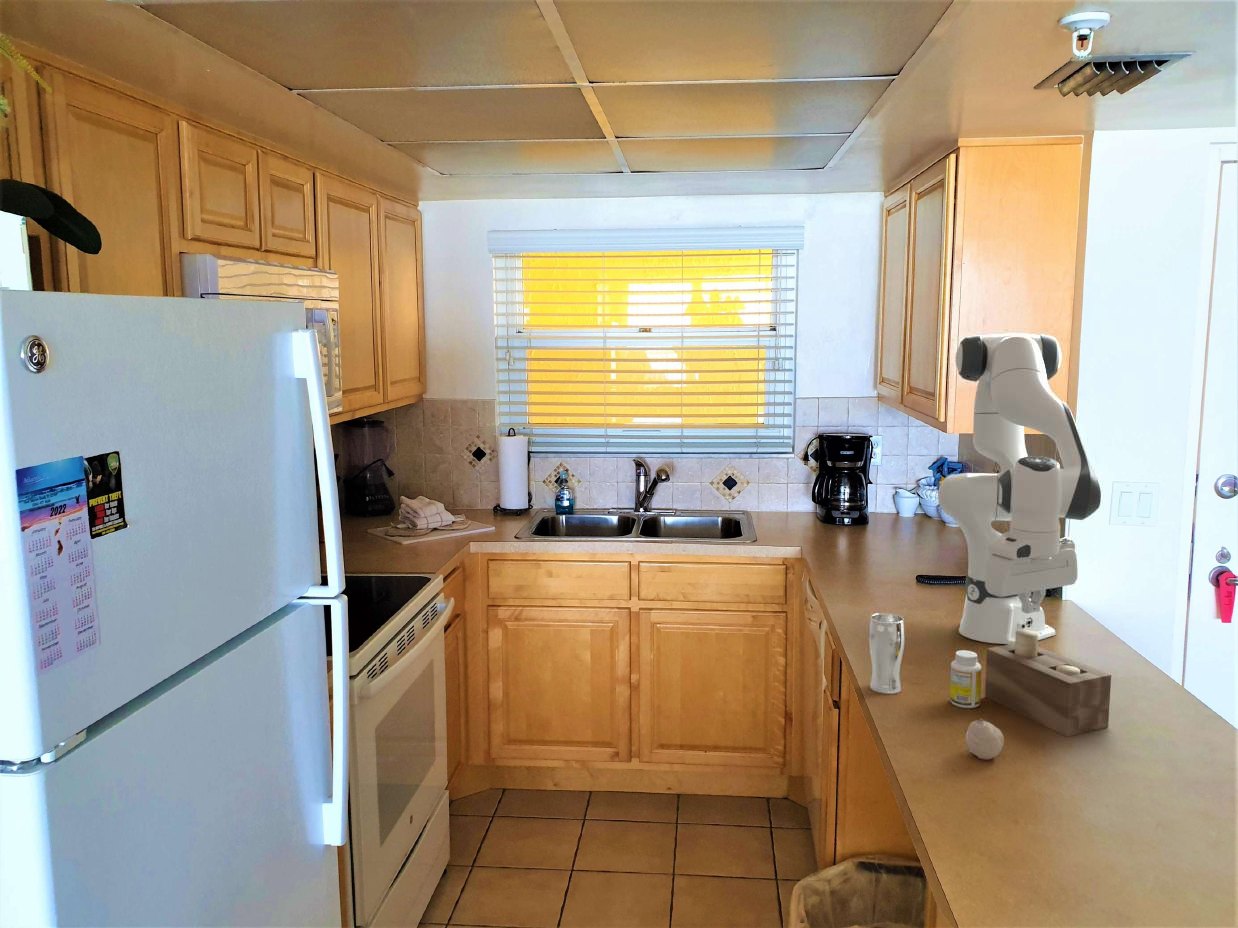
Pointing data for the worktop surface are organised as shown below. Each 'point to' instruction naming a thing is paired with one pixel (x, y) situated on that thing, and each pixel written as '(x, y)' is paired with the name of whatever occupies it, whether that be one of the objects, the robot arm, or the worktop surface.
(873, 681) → the beer glass
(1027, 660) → the block
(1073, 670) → the peg
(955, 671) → the supplement bottle
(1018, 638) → the peg
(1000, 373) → the robot arm
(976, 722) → the garlic bulb
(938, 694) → the worktop surface
